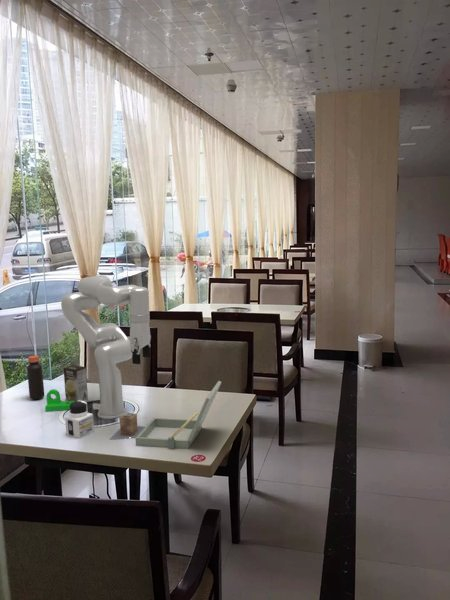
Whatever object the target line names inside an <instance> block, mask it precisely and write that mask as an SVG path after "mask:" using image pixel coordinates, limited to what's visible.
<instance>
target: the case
mask: <svg viewBox="0 0 450 600" xmlns="http://www.w3.org/2000/svg"><path fill="white" fill-rule="evenodd" d="M221 385H222V381H220V380H218V381H217V382H216V384H215V385H214V386H213V388H212V389H211V391H210V392H209V393H208V395H207V397H206V398H205V400H204V402H203V405H202V407H201V410H200V411H199V413H198V411H196V412H195V413H193V415H192V416H191V417H189V418H188V419H186V418H185V419H183V418H166V417H165V418H162V417H153V418H152V419H151V420H150V421H149V422H148V424H146V425H145V426H144V427H145V428H144V429H143V430H142V431H141V432H140V434H139V435H138V436H137V437H136V438H134V439H135V446H137V447H138V446H139V447H155V448H159V447H160V448H168V450H174V449H189V448H190V447H191V445H192V444H193V442H194V441H195V439H196V438H197V436H198V434H199V433H200V432H201V430H202V429H203V424H204V422H205V420H206V418H207V415H208V413H209V411H210V409H211V407H212V404H213V402H214V400H215V398H216V395H217V394H218V391H219V389H220V387H221ZM197 415H198V416H197ZM196 416H197V418H196V419H194V418H195V417H196ZM155 428H171V429H172V428H173V429H174V428H175V429H176V428H177V430H176V431H175V432H174V433H173V434H172V435H171V436H169V437H168V438H162V437H161V438H160V437H158V438H157V437H148V436H149V435H150V434H151V433H152V431H153V430H154V429H155ZM183 429H192V430H191V431H190V433H189V435H188V436H187V437H186V439H178V438H177V439H176V438H175V437H176V436H177V435H178V434H179V432H181V431H182V430H183Z"/></svg>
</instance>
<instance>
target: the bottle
mask: <svg viewBox="0 0 450 600" xmlns="http://www.w3.org/2000/svg"><path fill="white" fill-rule="evenodd" d="M27 358H28V359H27V360H28V366H27V368H26V373H27V382H28V383H27V384H28V395H29V398H30V399H31V400H40V399H43V398H44V397H45V386H44V384H45V383H44V376H43V375H44V374H43V366H42V364H40V356H39V355H29V356H28V357H27Z"/></svg>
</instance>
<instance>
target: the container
mask: <svg viewBox="0 0 450 600" xmlns="http://www.w3.org/2000/svg"><path fill="white" fill-rule="evenodd" d="M64 420H65V431H66V432H65V434H66V436H69V435H70V437H72V436H74V438H76V437H77V439H82V438H84V437H86V436H89V435H91V434H92V433H94V432H95V425H94V423H95V422H94V414H93V413H90V412H88V403H87V402H86V401H74V402H72V403H71V404H70V409H69V414H68V415H66V416H65V417H64Z"/></svg>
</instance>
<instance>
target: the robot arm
mask: <svg viewBox="0 0 450 600" xmlns="http://www.w3.org/2000/svg"><path fill="white" fill-rule="evenodd" d="M77 290H78V291H77V292H70V293H68V294H66V295H64V296H63V297H62V299H61V301H60V303H61V304H60V306H61V311H62V314H63V315H64V317H65V319H66V320H67V321H68V323H70V324H71V325H72V326H73V327H74V328H75V329H76V330H77V331H78V332H79V334H80V335H81V337H82V338H83V340H84V341H85V343H87V345H88V346H90V347H91V348H95V350H94V360H95V363H96V367H97V368H96V369H97V376H98V377H97V378H98V387H99V400H100V403H93V404H92V410H97V417H98V418H100V419H102V420H103V419H104V420H114V419H120V417H121V416H122V415H123V414H124V413H128V409H127V408H126V407H124V400H123V398H124V396H123V385H122V384H123V383H122V380H123V379H122V373H121V370H120V369H119V368H118V367H117V364H119V363H122V362H125V361H128V360H130V359H132V360H131V361H132V364H133V365H140V364H141V363H142V362H141V353H140V352H141V349H142V357H143V358H151V357H152V356H151V355H152V354H151V343H152V340H151V339H152V335H151V329H150V328H151V327H150V321H151V319H150V318H151V316H150V296H149V295H150V294H149V293H150V292H149V288H147V287H145V286H138V285H136V284H125V285H119V286H113V284H112V281H111V278H109V277H108V276H106V275H102V274H100V275H93V276H86V277H84V278H82V279H80V280H79V282H78V284H77ZM101 304H102V305H106V306H110V307H119V306H122V305H123V306H124V305H129V315H130V328H129V337H128V336H127V335H126V334H125V332H124V331H123V330H122V329H121V328H120V326H118V324H116V323H113V322H105V323H103V324H102V323H98V322H97V321H96V320H95V319H94V317H93V316H91V315H90V314H88V313H86V312H84V311H87V310H93V309H96V308H98V307H100V306H101Z"/></svg>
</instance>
